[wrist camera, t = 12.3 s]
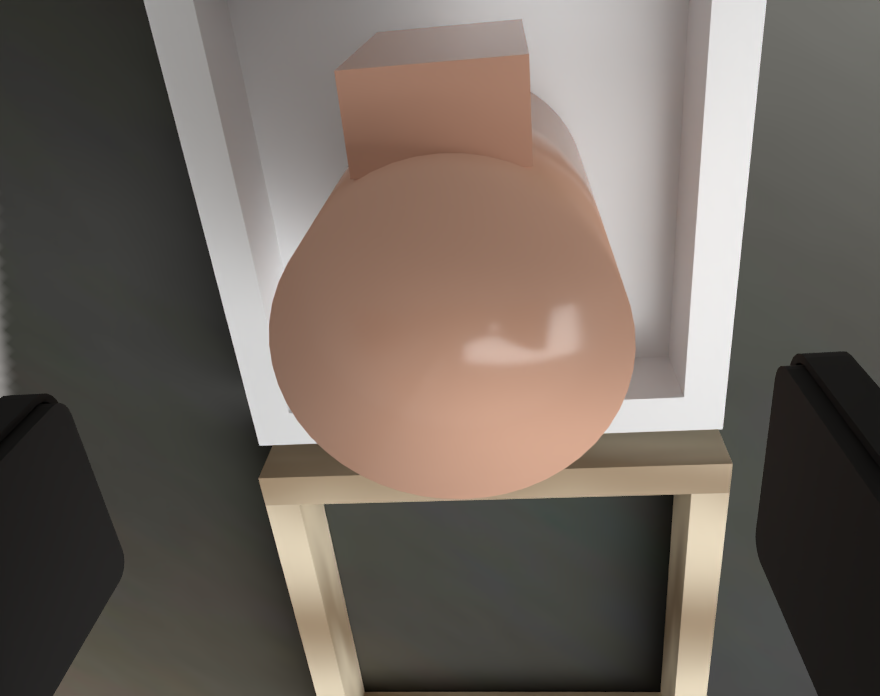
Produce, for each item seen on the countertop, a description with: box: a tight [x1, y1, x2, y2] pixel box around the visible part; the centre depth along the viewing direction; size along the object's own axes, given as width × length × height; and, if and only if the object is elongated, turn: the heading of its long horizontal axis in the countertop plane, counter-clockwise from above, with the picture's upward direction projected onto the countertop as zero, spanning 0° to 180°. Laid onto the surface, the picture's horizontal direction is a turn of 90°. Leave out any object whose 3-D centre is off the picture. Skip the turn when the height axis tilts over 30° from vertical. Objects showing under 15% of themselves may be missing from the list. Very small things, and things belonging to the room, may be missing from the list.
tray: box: [144, 0, 766, 446], centre depth 18 cm, size 12×12×2 cm
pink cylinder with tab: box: [269, 19, 636, 499], centre depth 15 cm, size 7×6×8 cm
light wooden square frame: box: [258, 429, 733, 696], centre depth 25 cm, size 13×13×2 cm
